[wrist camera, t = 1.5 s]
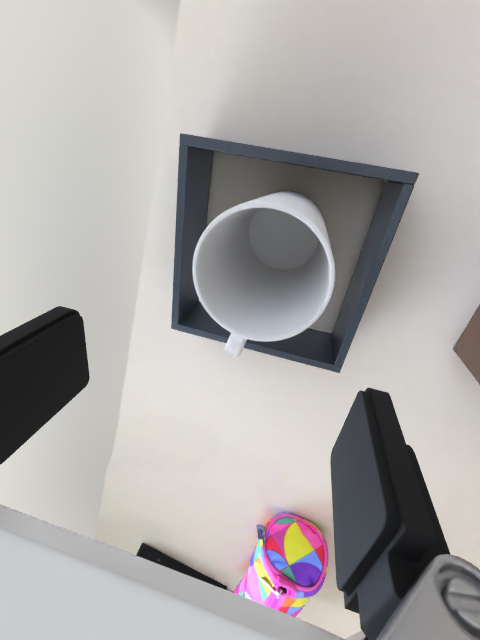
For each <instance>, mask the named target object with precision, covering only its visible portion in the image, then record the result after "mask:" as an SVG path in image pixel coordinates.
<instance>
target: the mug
mask: <svg viewBox="0 0 480 640" xmlns="http://www.w3.org/2000/svg"><path fill="white" fill-rule="evenodd" d="M192 270H193V281H194V285H195V289H196V292H197V295H198V297H199V299H200V301H201V303H202V305H203V307H204V308H205V310H206V311H207V312H208V314H209V315H210V316H211V317H212V318H213V319H214V320H215V321H216V322H217V323H218V324H219V325H220V326H222V327H223V328H224V329H226V330H227V331H229V332H231V334H230V336H229V339H228V341H227V344H226V346H225V351H226V352H227V353H228V354H230V355H232V356H239V355H240V354H241V352H242V350H243V348H244V345H245V343H246V341H247V339H249V340H254V341H278V340H283V339H287V338H290V337H292V336H295V335H297V334H299V333H301V332H303V331H304V330H306V329H307V328H309V327H310V326H311V325H312V324H313V323H314V322H316V320H317V319H318V318H319V317H320V316H321V315H322V313H323V312H324V310H325V309H326V307H327V305H328V303H329V301H330V299H331V296H332V293H333V289H334V284H335V263H334V258H333V254H332V250H331V245H330V241H329V237H328V233H327V230H326V226H325V221H324V219H323V216H322V214H321V212H320V210H319V208H318V207H317V205H316V204H315V203H314V202H313V201H312V200H311V199H309V198H308V197H306V196H305V195H302V194H300V193H297V192H292V191H282V192H276V193H272V194H269V195H266V196H264V197H260V198H257V199H254V200H251V201H248V202H245V203H242V204H240V205H237V206H234V207H232V208H230V209H228V210H226V211H225V212H223V213H221V214H220V215H219V216H217V217H216V218H215V219H214V220H213V221H212V222H211V223H210V224H209V225H208V226H207V228H206V229H205V230H204V232H203V233H202V235H201V237H200V239H199V241H198V243H197V246H196V249H195V252H194V257H193V267H192Z"/></svg>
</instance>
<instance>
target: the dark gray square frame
mask: <svg viewBox="0 0 480 640" xmlns="http://www.w3.org/2000/svg"><path fill="white" fill-rule="evenodd" d="M213 151H218V152H224V153H230V154H235V155H241V156H247V157H253V158H259V159H265V160H270V161H276V162H282V163H288V164H294V165H299V166H305V167H311V168H317V169H323V170H328V171H334V172H340V173H346V174H352V175H357V176H363V177H369V178H375V179H381V180H387V181H386V183H385V186H384V189H383V191H382V194H381V197H380V200H379V203H378V206H377V208H376V211H375V214H374V217H373V220H372V222H371V225H370V228H369V231H368V234H367V237H366V239H365V242H364V245H363V248H362V251H361V253H360V256H359V259H358V262H357V265H356V268H355V270H354V273H353V276H352V279H351V282H350V284H349V287H348V290H347V293H346V296H345V299H344V301H343V304H342V307H341V310H340V313H339V316H338V318H337V321H336V324H335V327H334V330H333V332H332V334H328V333H324V332H320V331H316V330H312V329H308V328H307V329H306V330H304V331H303V332H301V333H299V334H297V335H295V336H292V337H290V338H287V339H283V340H278V341H254V340H249V339H247V341H246V343H245V345H244V348H247V349H251V350H254V351H258V352H262V353H266V354H270V355H273V356H277V357H281V358H285V359H289V360H292V361H296V362H300V363H304V364H308V365H311V366H315V367H319V368H323V369H327V370H330V371H334V372H338V373H340V370H341V368H342V365H343V363H344V360H345V358H346V355H347V353H348V350H349V348H350V345H351V343H352V340H353V338H354V335H355V333H356V330H357V328H358V325H359V323H360V320H361V318H362V315H363V313H364V310H365V308H366V305H367V303H368V300H369V298H370V295H371V293H372V290H373V288H374V285H375V283H376V280H377V278H378V275H379V273H380V270H381V268H382V265H383V263H384V260H385V258H386V255H387V252H388V250H389V247H390V245H391V242H392V240H393V237H394V235H395V232H396V230H397V227H398V225H399V222H400V220H401V217H402V215H403V212H404V210H405V207H406V205H407V202H408V200H409V197H410V195H411V192H412V190H413V187H414V184H415V182H416V180H417V177H418V175H419V173H416V172H409V171H403V170H397V169H391V168H385V167H379V166H373V165H367V164H361V163H355V162H349V161H343V160H337V159H331V158H325V157H319V156H313V155H307V154H301V153H295V152H289V151H283V150H277V149H271V148H265V147H259V146H253V145H247V144H241V143H235V142H229V141H223V140H217V139H211V138H205V137H199V136H193V135H187V134H180V147H179V169H178V191H177V213H176V235H175V258H174V280H173V302H172V324H171V329H175V330H179V331H182V332H186V333H190V334H194V335H197V336H201V337H205V338H209V339H213V340H216V341H220V342H224V343H227V341H228V339H229V336H230V334H231V332H229V331H227V330H226V329H224V328H223V327H222V326H220V325H219V324H218V323H217V322H216V321H215V320H214V319H213V318H212V317H211V316H210V315H209V314H208V312H207V311H206V310H205V308H204V307H203V305H202V303H201V302H199V297H198V295H197V292H196V289H195V285H194V281H193V270H192V267H193V257H194V252H195V249H196V246H197V243H198V241H199V239H200V237H201V235H202V233H203V232H204V230H205V229H206V220H207V209H208V198H209V187H210V176H211V166H212V155H213Z"/></svg>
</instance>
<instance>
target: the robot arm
mask: <svg viewBox="0 0 480 640" xmlns="http://www.w3.org/2000/svg"><path fill="white" fill-rule="evenodd" d="M88 381H89V369H88V360H87V351H86V342H85V333H84V325H83V319H82V317H81V316H80V314H79V312H78V311H76V310H73V309H69V308H65V307H61V306H59V307H56V308H54V309H52V310H50V311H48V312H46V313H44V314H42V315H40V316H38V317H36V318H34V319H32V320H30V321H28V322H26V323H24V324H23V325H21V326H19V327H17V328H15V329H13V330H11V331H9V332H7V333H5V334H3V335H1V336H0V464H2V463H3V462H4V461H5V460H6V459H7V458H9V457H10V456H11V455H12V454H13V453H14V452H15V451H16V450H17V449H18V448H19V447H20V446H21V445H23V444H24V443H25V442H26V441H27V440H28V439H29V438H30V437H31V436H32V435H34V434H35V433H36V432H37V431H38V430H39V429H40V428H41V427H42V426H43V425H44V424H45V423H46V422H48V421H49V420H50V419H51V418H52V417H53V416H54V415H55V414H56V413H57V412H59V411H60V410H61V409H62V408H63V407H64V406H65V405H66V404H67V403H68V402H69V401H70V400H72V399H73V398H74V397H75V396H76V395H77V394H78V393H79V392H80V391H81V390H82V389H83V388H85V387H86V385H87V384H88ZM331 481H332V501H333V522H334V542H335V563H336V581H337V587H338V589H339V590H340V591H343V592H344V602H345V609H348V610H351V611H353V612H356V613H359V614H360V625H361V629H362V631H363V632H364V634H365V635H364V636H363V638H362V639H361V640H480V570H479V569H478V568H477V567H475V566H474V565H473V564H472V563H470V562H468V561H466V560H464V559H462V558H460V557H458V556H454V555H450V552H449V549H448V546H447V543H446V541H445V538H444V535H443V532H442V529H441V526H440V524H439V521H438V518H437V515H436V512H435V509H434V507H433V504H432V501H431V498H430V495H429V492H428V489H427V487H426V484H425V481H424V478H423V475H422V472H421V470H420V467H419V464H418V461H417V458H416V455H415V453H414V451H413V449H412V448H411V447H410V446H409V445H406V443H405V440H404V437H403V434H402V431H401V428H400V425H399V422H398V419H397V416H396V413H395V409H394V406H393V403H392V400H391V397H390V395H389V393H387V392H383V391H379V390H375V389H372V388H367V389H366V390H365V392H364V391H359V392H358V394H357V396H356V398H355V401H354V403H353V405H352V407H351V409H350V412H349V414H348V416H347V418H346V420H345V423H344V425H343V427H342V429H341V432H340V434H339V436H338V438H337V440H336V443H335V445H334V447H333V450H332V453H331ZM0 640H345V639H343V638H341V637H338V636H336V635H334V634H332V633H330V632H328V631H326V630H324V629H321V628H319V627H317V626H314V625H312V624H309V623H307V622H305V621H302V620H300V619H297V618H295V617H292V616H290V615H287V614H285V613H282V612H280V611H277V610H275V609H272V608H270V607H268V606H265V605H263V604H260V603H258V602H255V601H253V600H250V599H248V598H245V597H243V596H240V595H238V594H235V593H232V592H230V591H227V590H225V589H222V588H219V587H217V586H214V585H212V584H209V583H206V582H204V581H201V580H199V579H196V578H193V577H191V576H188V575H185V574H183V573H180V572H178V571H175V570H172V569H170V568H167V567H165V566H162V565H159V564H157V563H154V562H152V561H149V560H146V559H144V558H141V557H138V556H136V555H133V554H131V553H128V552H125V551H123V550H120V549H117V548H115V547H112V546H109V545H107V544H104V543H101V542H99V541H96V540H93V539H91V538H88V537H85V536H83V535H80V534H78V533H75V532H72V531H70V530H67V529H64V528H62V527H59V526H56V525H53V524H51V523H48V522H46V521H43V520H40V519H38V518H35V517H32V516H30V515H27V514H24V513H22V512H19V511H16V510H14V509H11V508H8V507H6V506H3V505H0Z"/></svg>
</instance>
